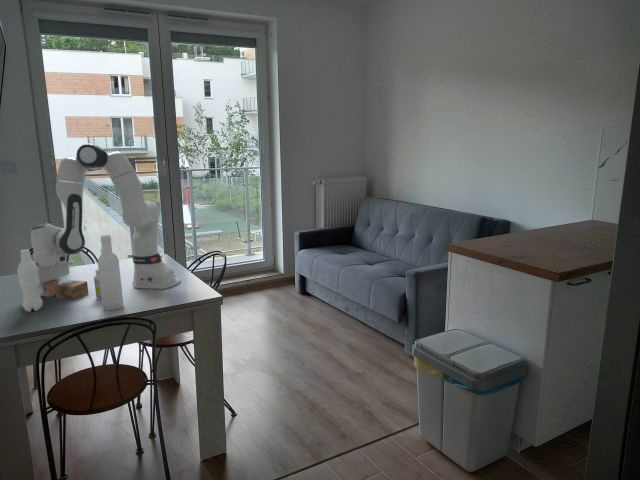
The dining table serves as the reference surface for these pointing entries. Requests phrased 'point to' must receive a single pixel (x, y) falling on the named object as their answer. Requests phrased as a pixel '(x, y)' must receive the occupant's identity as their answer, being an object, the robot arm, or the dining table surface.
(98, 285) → the supplement bottle
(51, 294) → the brown cardboard box
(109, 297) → the bottle
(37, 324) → the dining table surface
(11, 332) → the dining table surface
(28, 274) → the water bottle
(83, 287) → the walnut box
